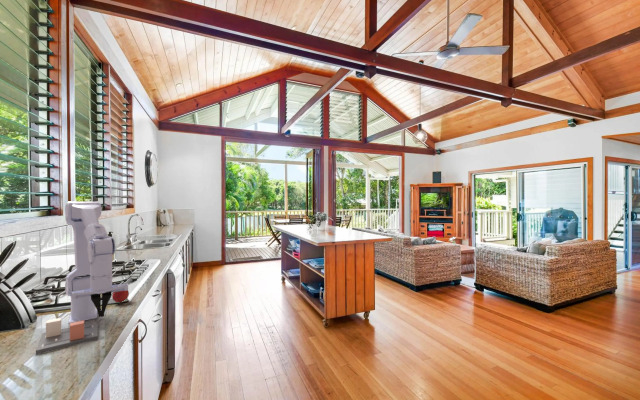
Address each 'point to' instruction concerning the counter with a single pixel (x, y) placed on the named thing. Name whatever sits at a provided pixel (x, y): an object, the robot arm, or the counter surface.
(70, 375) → the counter surface
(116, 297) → the onion
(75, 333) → the block
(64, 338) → the grey base plate
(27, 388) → the counter surface
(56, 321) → the fader cream
